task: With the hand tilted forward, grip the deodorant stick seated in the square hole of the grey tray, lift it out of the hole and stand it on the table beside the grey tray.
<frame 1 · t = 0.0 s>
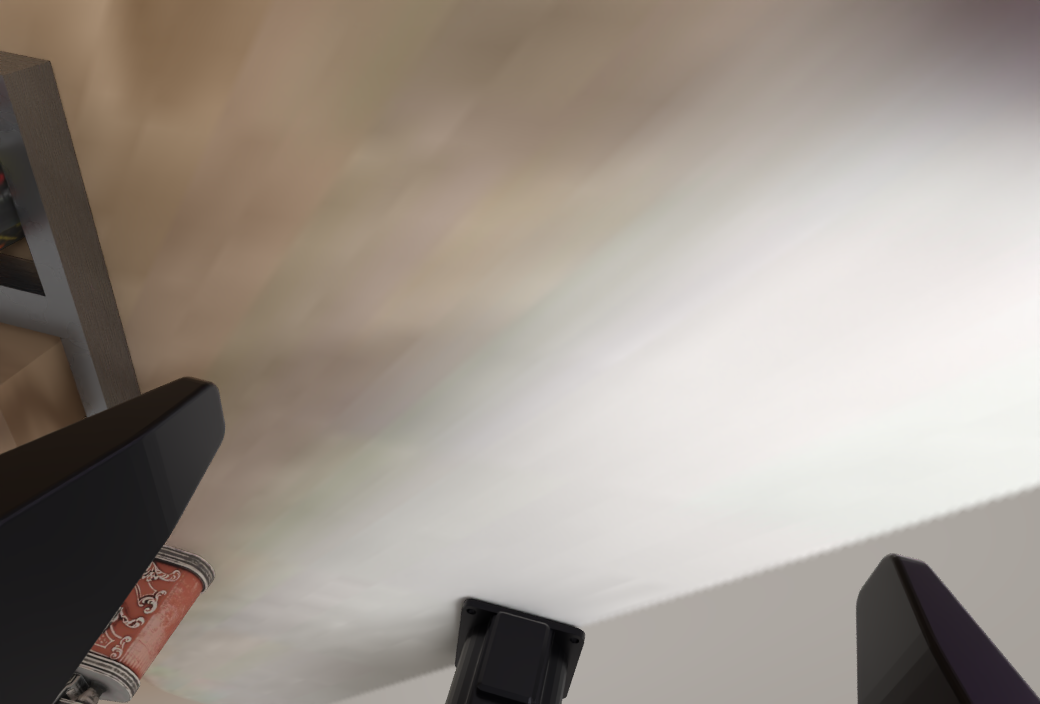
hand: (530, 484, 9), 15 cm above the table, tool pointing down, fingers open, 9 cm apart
grey tray: (12, 279, 30), on the table
walnut block: (44, 358, 33), resting in grey tray
lighter: (156, 556, 41), on the table
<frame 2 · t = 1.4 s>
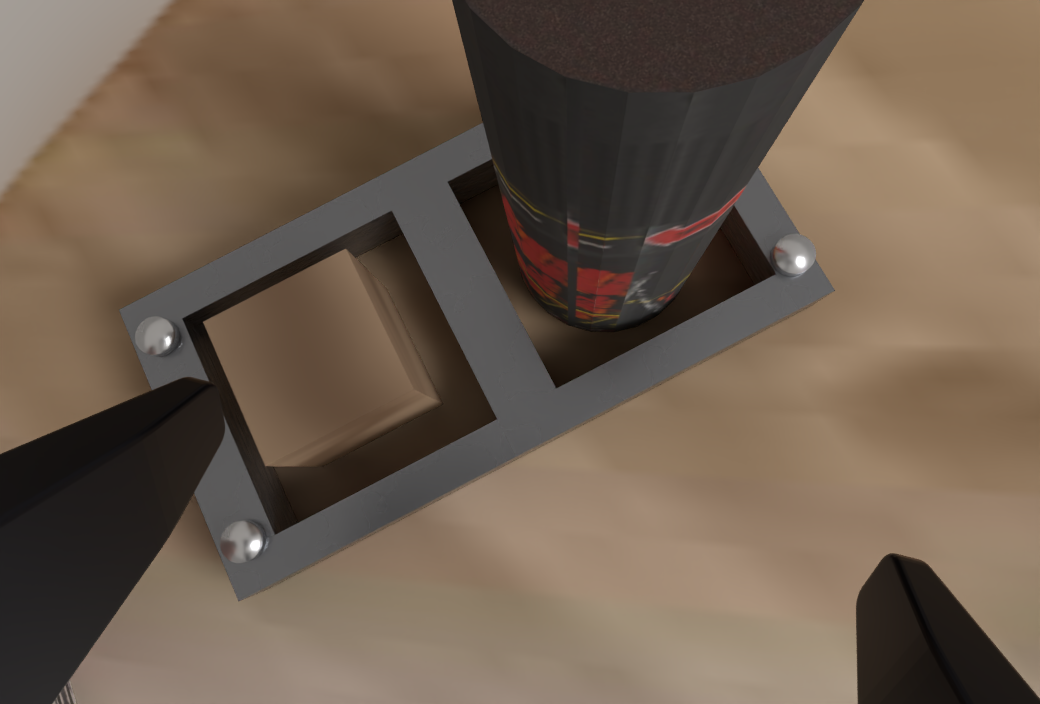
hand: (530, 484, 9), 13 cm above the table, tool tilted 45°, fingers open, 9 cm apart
grey tray: (473, 314, 23), on the table
deodorant: (603, 248, 24), resting in grey tray
walnut block: (356, 376, 23), resting in grey tray
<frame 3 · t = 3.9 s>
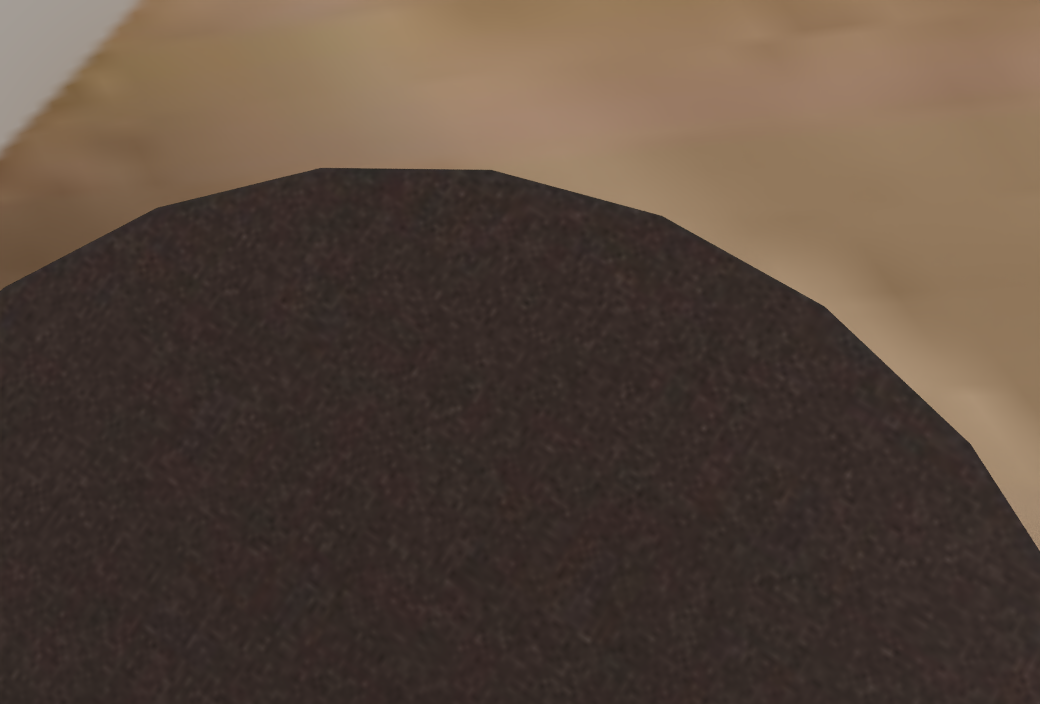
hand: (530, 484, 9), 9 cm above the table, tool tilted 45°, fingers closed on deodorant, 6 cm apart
deodorant: (536, 528, 18), resting in grey tray, touching gripper
when the fingers open (10 cm above the table, at t = 7.2 s): deodorant drops 1 cm, on the table.
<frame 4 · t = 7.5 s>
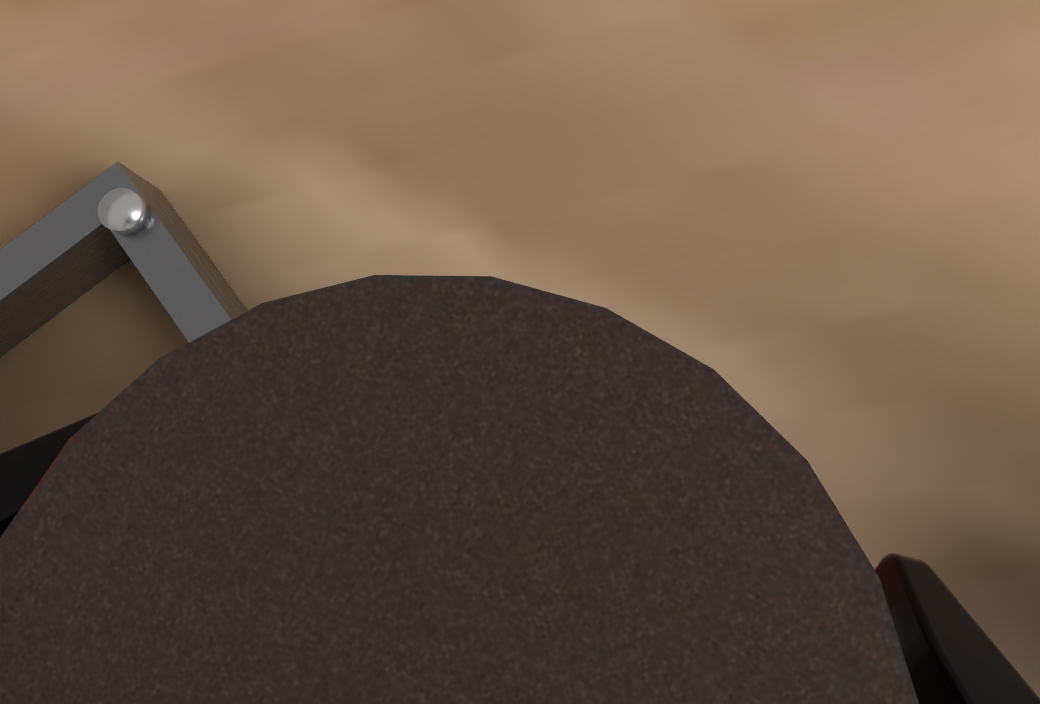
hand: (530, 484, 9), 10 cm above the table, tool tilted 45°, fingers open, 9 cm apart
deodorant: (535, 530, 19), on the table
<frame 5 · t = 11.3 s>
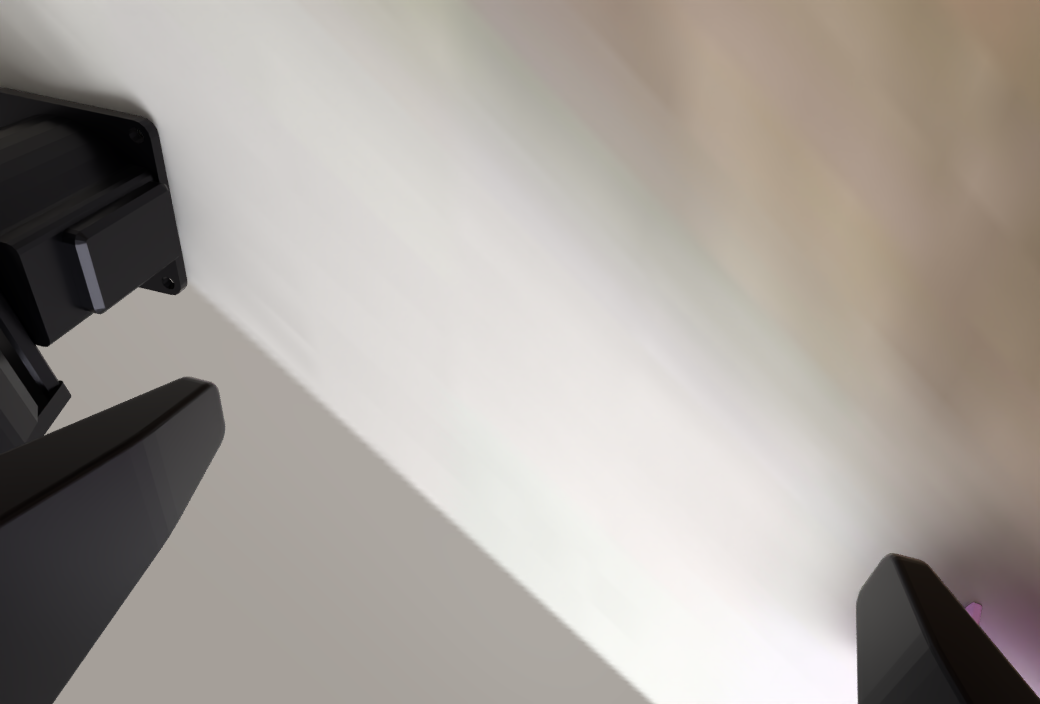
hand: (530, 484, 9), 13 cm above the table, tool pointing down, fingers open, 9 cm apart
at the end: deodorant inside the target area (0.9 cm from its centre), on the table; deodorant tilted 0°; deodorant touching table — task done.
